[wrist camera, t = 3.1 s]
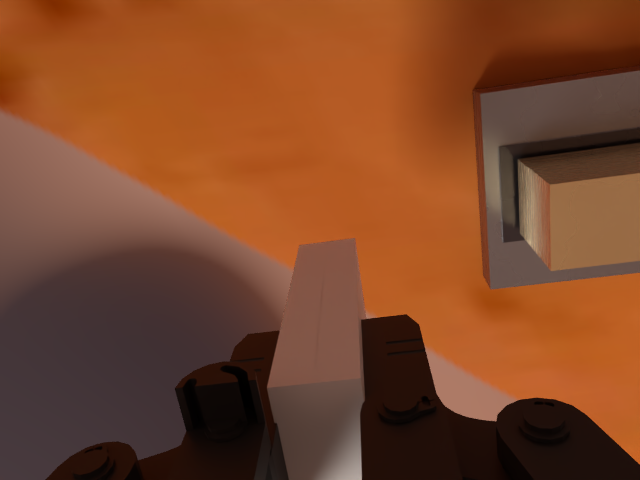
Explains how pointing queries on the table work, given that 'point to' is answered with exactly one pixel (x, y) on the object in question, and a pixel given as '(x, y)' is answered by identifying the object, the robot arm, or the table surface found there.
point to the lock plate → (539, 140)
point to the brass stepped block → (582, 206)
